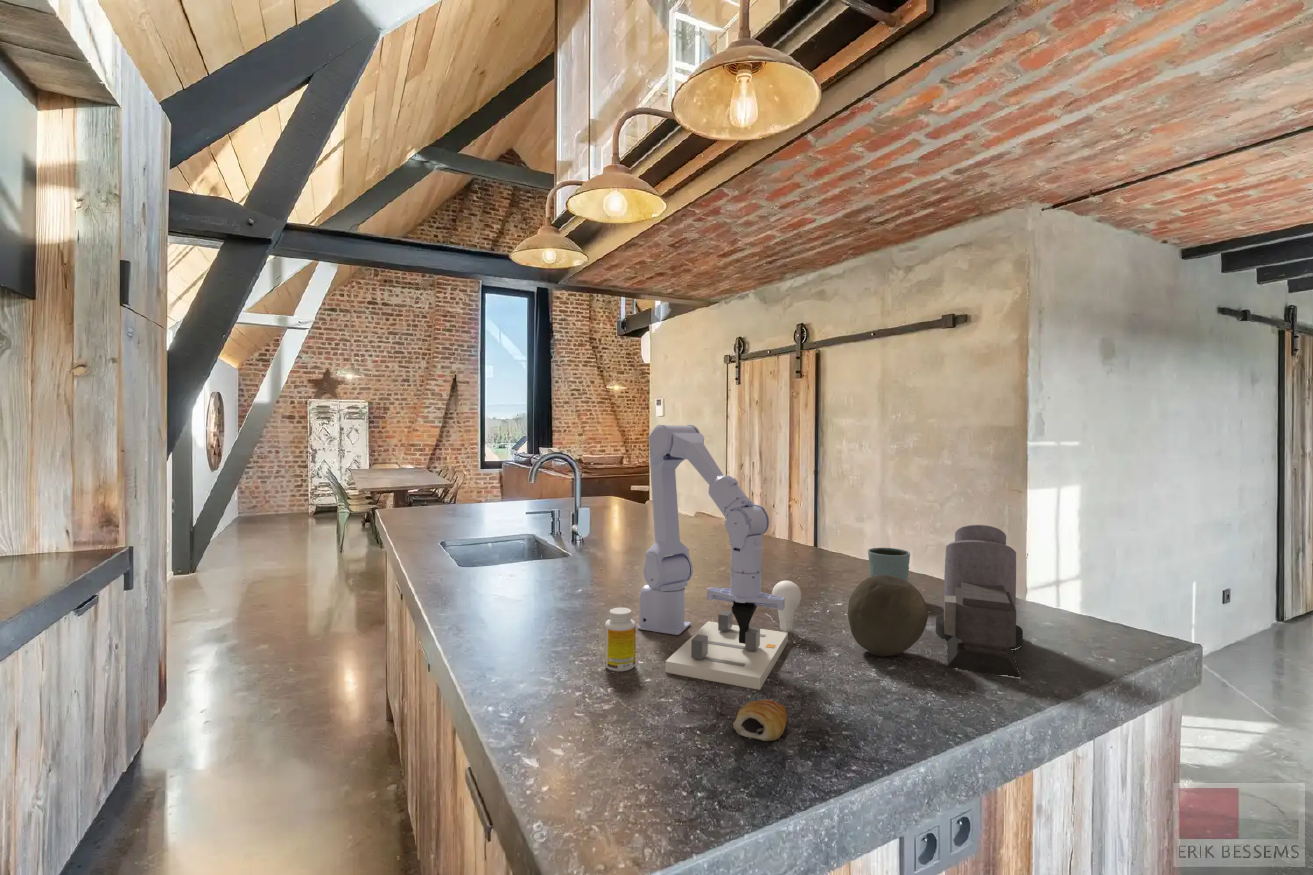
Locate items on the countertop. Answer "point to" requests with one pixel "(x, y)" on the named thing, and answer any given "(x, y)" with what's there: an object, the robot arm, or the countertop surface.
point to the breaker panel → (729, 657)
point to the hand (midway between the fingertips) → (744, 641)
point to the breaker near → (699, 646)
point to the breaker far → (725, 620)
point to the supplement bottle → (620, 640)
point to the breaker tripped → (752, 638)
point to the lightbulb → (787, 602)
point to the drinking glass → (889, 562)
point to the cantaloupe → (886, 615)
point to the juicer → (980, 602)
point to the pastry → (761, 720)
